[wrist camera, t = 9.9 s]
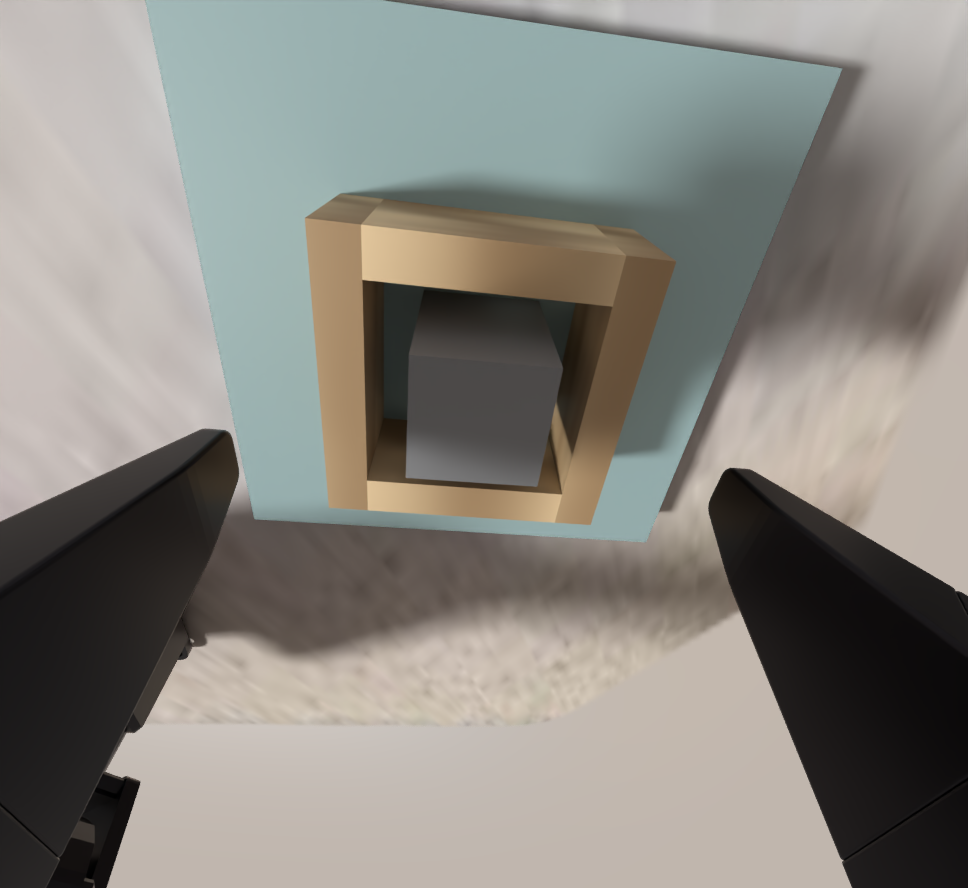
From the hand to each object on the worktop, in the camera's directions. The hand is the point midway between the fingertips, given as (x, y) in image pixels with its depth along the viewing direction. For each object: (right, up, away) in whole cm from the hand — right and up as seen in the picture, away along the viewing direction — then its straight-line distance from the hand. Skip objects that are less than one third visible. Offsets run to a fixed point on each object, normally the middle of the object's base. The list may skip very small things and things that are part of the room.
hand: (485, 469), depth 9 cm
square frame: (0, +3, +5) cm, 6 cm away
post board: (0, +4, +6) cm, 7 cm away
